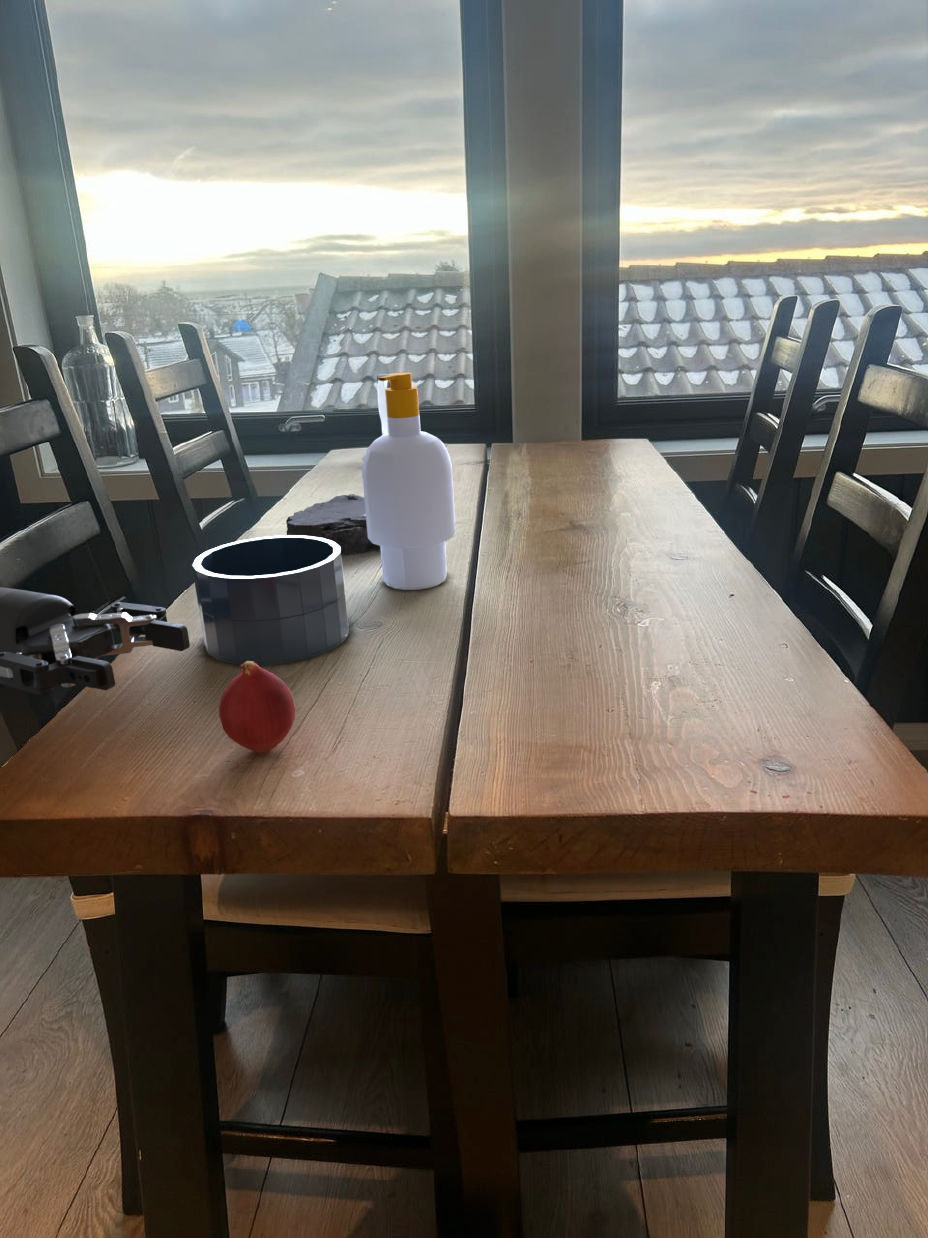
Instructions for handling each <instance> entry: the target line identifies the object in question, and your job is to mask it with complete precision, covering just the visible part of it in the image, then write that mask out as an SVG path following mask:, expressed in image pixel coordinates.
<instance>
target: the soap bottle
mask: <svg viewBox="0 0 928 1238" xmlns="http://www.w3.org/2000/svg"><path fill="white" fill-rule="evenodd" d="M388 374H389V375H388V376H383V377H378V378H379V381H389V380H390V388H387V389H385V395H386V408H387V422H388V434H385V435H382V434H381V436H379V437H378V438H376V439H375V440H373V441H372V442H371V444H370V445H369V446H368V448H367V449H366V452H365V455H364V457H363V462H362V467H361V475H362V477H361V479H362V485H363V486H362V487H363V497H364V500H365V511H366V522H367V534H368V539H369V540H370V541H371V542H372V543H373V544H376V545H379V546H380V549H381V550H380V559H381V571H382V580H383V582H384V583H385V584H386V586H388V587H389V588H391V589H396V590H400V591H401V590H402V591H418V590H425V589H430V588H434V587H436V586H439V585H441V584H443V583H444V582H445V581H446V579H447V574H448V568H447V567H448V566H447V552H446V551H447V550H446V542H447V541H449V540H450V539H452V538H454V537H455V534H456V531H457V528H456V526H457V525H456V510H455V494H454V477H453V476H454V475H453V463H452V459H451V456H450V453H449V451H448V449H447V447H446V446H445V444H444V442H443V441H442V440H441V439H440V438H438V437H437V436H435V435H433V434H430V433H429V432H426V431H421V430H422V429H421V417H420V404H419V403H420V402H419V388H418V387H417V386H413V380H412V372H392V373H388Z"/></svg>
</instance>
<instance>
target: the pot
mask: <svg viewBox="0 0 928 1238" xmlns="http://www.w3.org/2000/svg"><path fill="white" fill-rule="evenodd" d="M191 569H192V574H193V581H194V586H195V594H196V600H197V606H198V613H199V618H200V625H201V626H200V627H201V632H202V639H203V644H204V646H205V650H206V652H207V654H208V655H209V656H210V657H212V658H213V659H215V660H218V661H220V662H223V663H227V664H232V665H238V666H241V665H242V664H243V663H245V662H247V661H252V662H254V663H255V664H257V665H258V666H259V667H260V666H273V665H274V666H275V665H283V664H284V665H285V664H289V663H290V664H291V663H295V662H299V661H304V660H308V659H311V658H315V657H317V656H321V655H323V654H325V653H327V652H330V651H332V650H334V649H336V648H337V647H339V646H341V644H343V643H344V642H345V641H346V639H347V638H348V636H349V633H350V628H349V626H350V625H349V613H348V605H347V596H346V595H347V594H346V584H345V574H344V564H343V555H342V553H341V547H340V546H339V545H338V544H336V543H335V542H334V541H331V540H327V539H324V538H319V537H311V536H287V535H273V536H272V535H271V536H260V537H255V538H249V539H242V540H238V541H233V542H229V543H226V544H222V545H219V546H217V547H214V548H211V549H208V550H206V551H204V552H202V553H201V554H200V555H198V556H197V557H195V559H194V560H193V562H192V564H191Z"/></svg>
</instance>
